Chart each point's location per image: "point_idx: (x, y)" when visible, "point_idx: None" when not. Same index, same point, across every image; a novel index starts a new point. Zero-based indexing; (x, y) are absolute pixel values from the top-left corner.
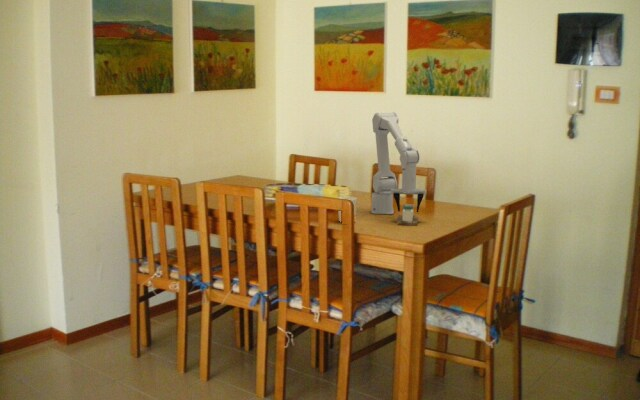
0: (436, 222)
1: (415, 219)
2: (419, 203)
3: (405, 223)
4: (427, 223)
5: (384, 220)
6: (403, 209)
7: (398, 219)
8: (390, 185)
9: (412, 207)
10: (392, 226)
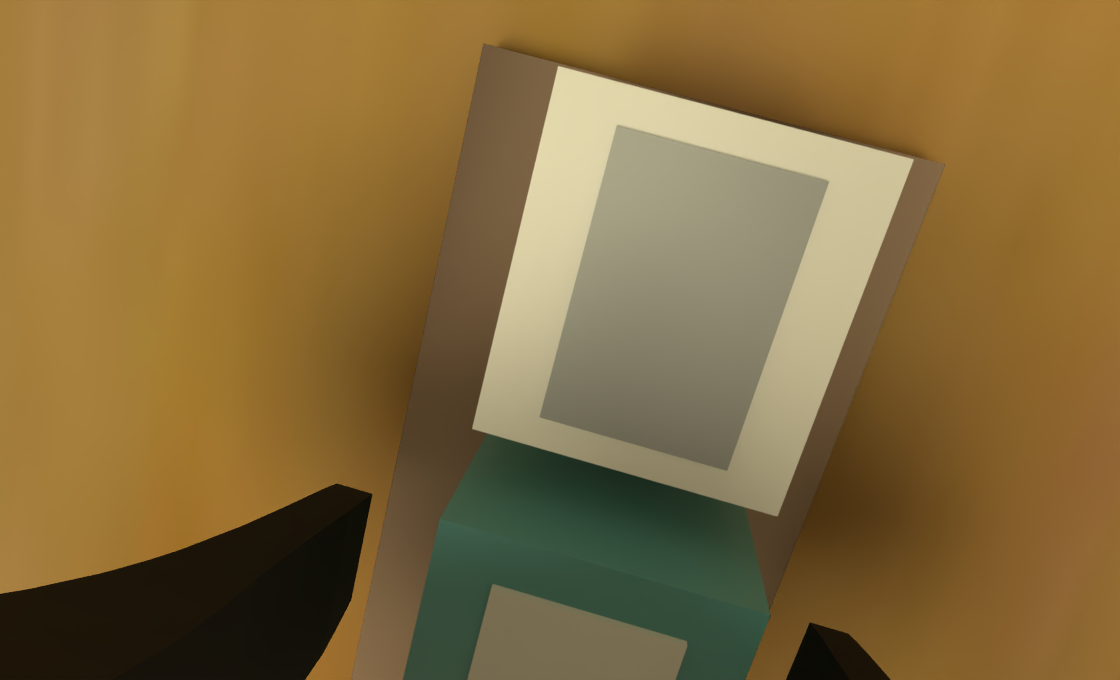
0: (76, 330)
1: (445, 441)
2: (157, 569)
3: (750, 115)
4: (249, 260)
5: (1048, 630)
6: (784, 457)
7: (810, 490)
8: None
9: (462, 508)
10: (1098, 14)
